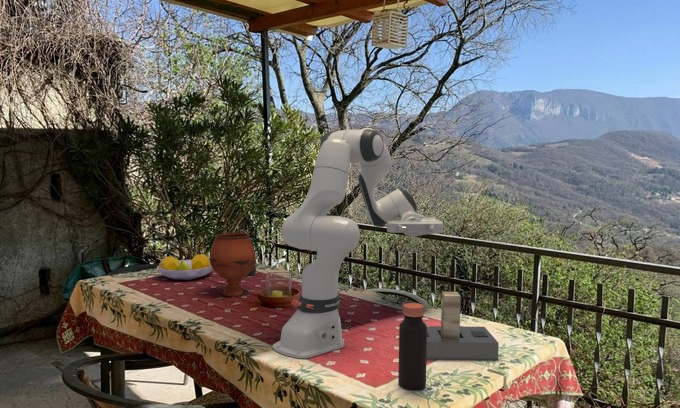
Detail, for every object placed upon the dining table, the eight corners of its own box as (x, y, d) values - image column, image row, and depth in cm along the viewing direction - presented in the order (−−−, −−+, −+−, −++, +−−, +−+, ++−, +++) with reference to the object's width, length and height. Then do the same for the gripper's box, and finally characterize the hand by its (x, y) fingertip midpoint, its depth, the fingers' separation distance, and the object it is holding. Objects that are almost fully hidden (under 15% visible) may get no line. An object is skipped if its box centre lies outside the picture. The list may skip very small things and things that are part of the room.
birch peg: (440, 344, 149) (441, 291, 148) (455, 344, 149) (457, 291, 148) (443, 350, 145) (444, 295, 144) (459, 350, 145) (460, 295, 144)
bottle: (416, 393, 119) (417, 311, 118) (392, 385, 124) (394, 305, 122) (431, 384, 124) (432, 305, 123) (408, 376, 129) (409, 300, 127)
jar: (236, 272, 250) (236, 257, 250) (256, 272, 251) (256, 257, 251) (234, 277, 240) (234, 261, 240) (255, 277, 241) (255, 261, 241)
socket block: (405, 341, 154) (406, 325, 154) (483, 342, 154) (484, 326, 154) (412, 359, 140) (412, 341, 140) (498, 360, 140) (498, 342, 140)
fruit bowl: (172, 270, 256) (172, 248, 255) (223, 272, 252) (223, 249, 251) (143, 283, 228) (143, 258, 227) (200, 285, 224) (200, 260, 223)
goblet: (243, 285, 224) (242, 230, 222) (264, 294, 209) (264, 235, 207) (202, 292, 212) (201, 233, 210) (222, 302, 197) (221, 239, 195)
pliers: (331, 287, 219) (360, 297, 203) (331, 289, 219) (360, 299, 204) (312, 291, 214) (341, 301, 198) (312, 293, 214) (341, 303, 198)
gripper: (384, 216, 187) (387, 220, 173) (439, 216, 187) (446, 220, 173) (384, 233, 188) (387, 238, 174) (438, 233, 188) (446, 238, 174)
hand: (417, 229), depth 174 cm, fingers open, 8 cm apart
